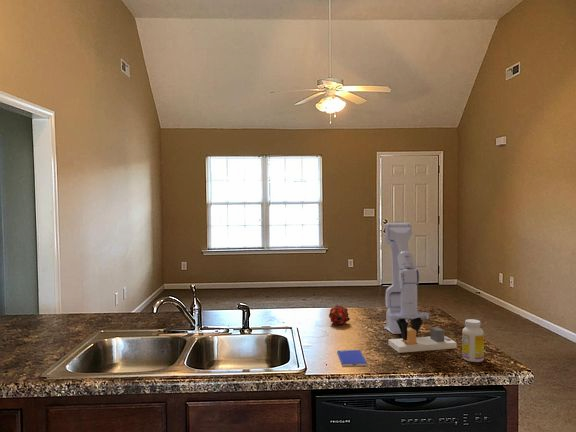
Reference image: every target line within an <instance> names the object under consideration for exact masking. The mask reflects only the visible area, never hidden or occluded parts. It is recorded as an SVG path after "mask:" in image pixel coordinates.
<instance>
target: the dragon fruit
mask: <svg viewBox="0 0 576 432" xmlns="http://www.w3.org/2000/svg"><path fill="white" fill-rule="evenodd" d="M348 311H349V309H348V308H346V307H345V306H344V305H339V304H338V305H335V306H334V307H331V309H330V310H329V314H328V317H329V319H330V323H333V324H334V326H336V327H337V326H340V325H345V324H346V323H347V322H350V320H351V318H350V316H349V315H350V314H349V312H348Z"/></svg>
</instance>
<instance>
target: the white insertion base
mask: <svg viewBox="0 0 576 432" xmlns="http://www.w3.org/2000/svg"><path fill="white" fill-rule="evenodd" d="M429 329H430V332H429V333H430V335H429V336H419V337H418V336H417V337H416V344H412V345H407V344H405V343H404V342H403V339H402V338H391V339H390V338H389V339H388V346H389V347H390V348H392V349H393V350H395V351H396V352H398V354H400V353H401V354H402V353H413V352H414V353H415V352H426V351H439V350H450V349H458V347H457V343H458V342H456V341H454V340H453V339H451V338H450V337H448V336H447V335H445V330H444V329H442V328H440V327H438V326H434V327H433V326H432V327H430V328H429Z"/></svg>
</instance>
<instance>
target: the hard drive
mask: <svg viewBox="0 0 576 432" xmlns="http://www.w3.org/2000/svg"><path fill="white" fill-rule="evenodd" d="M336 354H337V357H338V360H339V362H340V365H341V366H342V367H362V366H365V367H366V366H368V362H367V361H366V359H365V357H364V354H363V352H362V351H361V350H360V349H353V350H352V349H349V350H347V349H346V350H337V351H336Z"/></svg>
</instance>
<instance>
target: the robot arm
mask: <svg viewBox="0 0 576 432" xmlns="http://www.w3.org/2000/svg"><path fill="white" fill-rule="evenodd" d="M412 234H413V229H412V224H411V223H410V222H409V221H408V222H386V223H385V225H384V235H385V236H384V240H385V243H386V244H388V245H389V246H390V255H391V257H390V258H391V259H390V260H391V283H392V284H391V285H390V286H389V287H387V288H386V290H385V298H384V301H385V307H386V309H387V310H386V313H385V316H386V318H385V319H386V320H385V322H386V325H385V326H383V328H384V329H385V330H386V331H388V332H390V334H391V333H392V334H393V335H399V334H400V335H401V337H402V338H401V339H403V340H407V328H409V327H408V326H409V321H408V320H410V327H411V328H412V329H414V330H416V337H418V333H419V331H420V327H421V326H422V325H423V320H422V319H427V320H428V319H430V313H429V312H426V311H425V312H423V311H421V312H420V311H418V285H419V284H420V271H419V269H418V267H417V265H415V260H414V255H413V254H412V253H411V252H410V250H409V241H410V240H411V237H412Z"/></svg>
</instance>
